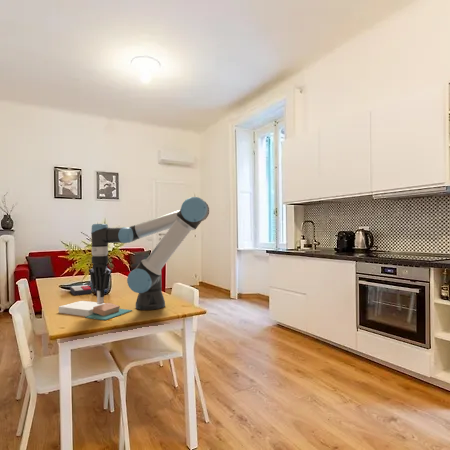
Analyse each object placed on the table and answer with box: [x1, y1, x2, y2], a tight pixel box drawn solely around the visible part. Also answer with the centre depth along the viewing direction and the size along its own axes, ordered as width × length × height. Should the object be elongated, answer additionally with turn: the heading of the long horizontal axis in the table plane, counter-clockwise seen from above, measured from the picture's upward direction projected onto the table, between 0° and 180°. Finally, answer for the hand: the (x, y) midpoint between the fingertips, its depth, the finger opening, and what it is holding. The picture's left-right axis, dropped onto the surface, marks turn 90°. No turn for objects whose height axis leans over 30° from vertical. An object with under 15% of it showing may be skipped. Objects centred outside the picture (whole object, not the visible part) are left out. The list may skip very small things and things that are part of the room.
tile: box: [93, 302, 121, 316], centre depth 158 cm, size 10×7×2 cm
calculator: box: [69, 284, 92, 297], centre depth 212 cm, size 11×4×15 cm
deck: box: [58, 300, 106, 317], centre depth 163 cm, size 14×20×3 cm
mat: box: [84, 308, 133, 321], centre depth 157 cm, size 18×12×1 cm, turn 156°
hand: (100, 303), depth 159 cm, fingers closed
